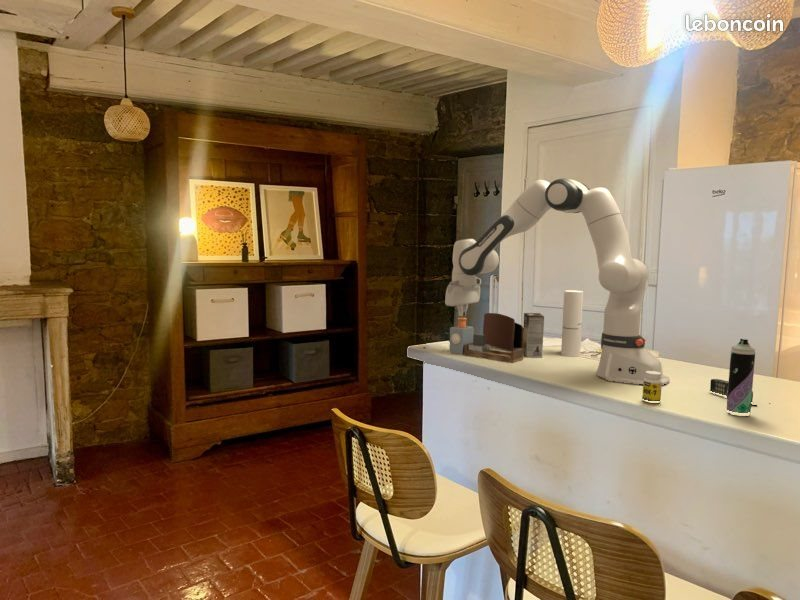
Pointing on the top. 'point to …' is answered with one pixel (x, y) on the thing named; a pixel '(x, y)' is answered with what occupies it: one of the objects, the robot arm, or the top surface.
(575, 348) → the cylindrical container
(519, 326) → the letter holder
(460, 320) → the plunger
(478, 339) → the carriage
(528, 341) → the coffee box
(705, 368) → the top surface
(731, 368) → the spray can
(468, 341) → the grey block
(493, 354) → the rail bed
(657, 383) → the supplement bottle
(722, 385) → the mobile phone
